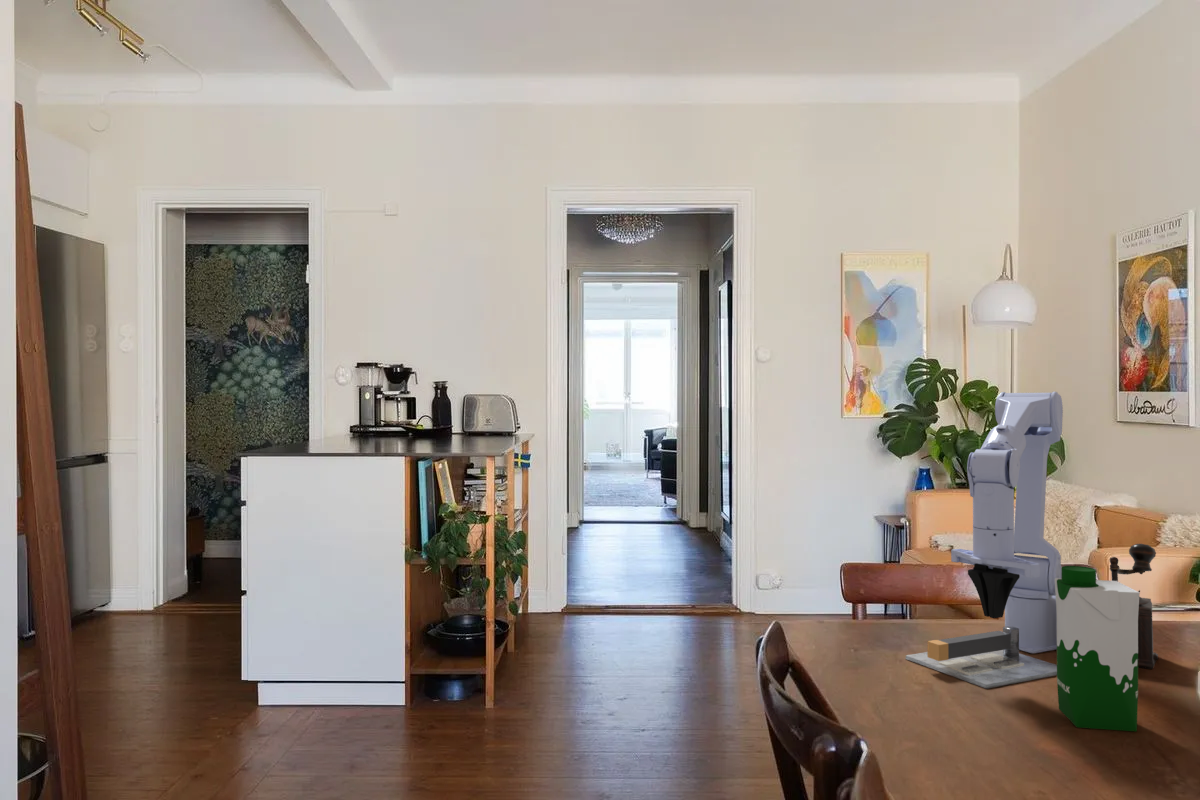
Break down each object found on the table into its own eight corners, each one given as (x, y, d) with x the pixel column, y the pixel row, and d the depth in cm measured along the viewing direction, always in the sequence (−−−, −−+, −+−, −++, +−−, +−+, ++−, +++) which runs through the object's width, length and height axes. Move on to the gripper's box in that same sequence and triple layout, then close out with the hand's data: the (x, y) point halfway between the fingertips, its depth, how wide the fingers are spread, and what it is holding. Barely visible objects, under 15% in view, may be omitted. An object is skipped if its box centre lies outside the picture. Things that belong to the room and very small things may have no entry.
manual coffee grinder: (1158, 671, 133) (1158, 556, 133) (1078, 659, 139) (1077, 550, 139) (1156, 647, 146) (1156, 543, 146) (1083, 637, 152) (1082, 537, 152)
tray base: (984, 646, 146) (984, 617, 146) (1069, 672, 132) (1069, 640, 132) (905, 659, 139) (905, 628, 139) (986, 688, 124) (986, 654, 124)
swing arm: (998, 645, 139) (998, 630, 139) (1010, 649, 137) (1010, 633, 137) (927, 657, 133) (927, 641, 133) (938, 661, 131) (938, 645, 131)
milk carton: (1049, 706, 117) (1048, 561, 117) (1121, 710, 115) (1120, 564, 115) (1071, 729, 108) (1070, 574, 109) (1149, 735, 107) (1148, 577, 107)
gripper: (936, 523, 134) (937, 608, 134) (1015, 535, 121) (1016, 630, 121) (969, 520, 137) (969, 604, 137) (1049, 532, 124) (1049, 625, 124)
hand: (993, 616), depth 129 cm, fingers closed
